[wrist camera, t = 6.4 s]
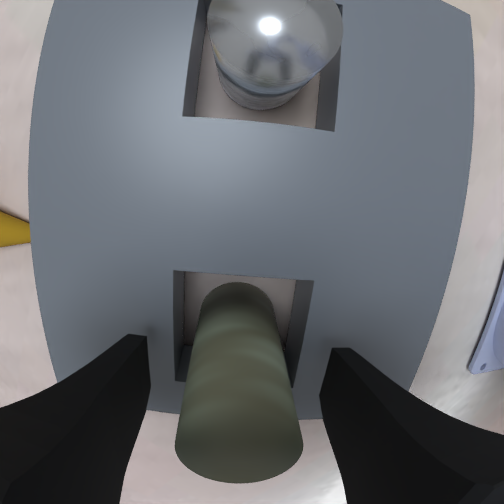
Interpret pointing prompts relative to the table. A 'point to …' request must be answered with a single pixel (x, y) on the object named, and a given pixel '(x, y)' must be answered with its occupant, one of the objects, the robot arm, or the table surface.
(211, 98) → the table surface
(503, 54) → the table surface
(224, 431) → the sage green pin
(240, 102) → the grey metal pin
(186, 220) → the pin board
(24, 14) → the table surface
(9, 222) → the ice cream cone
